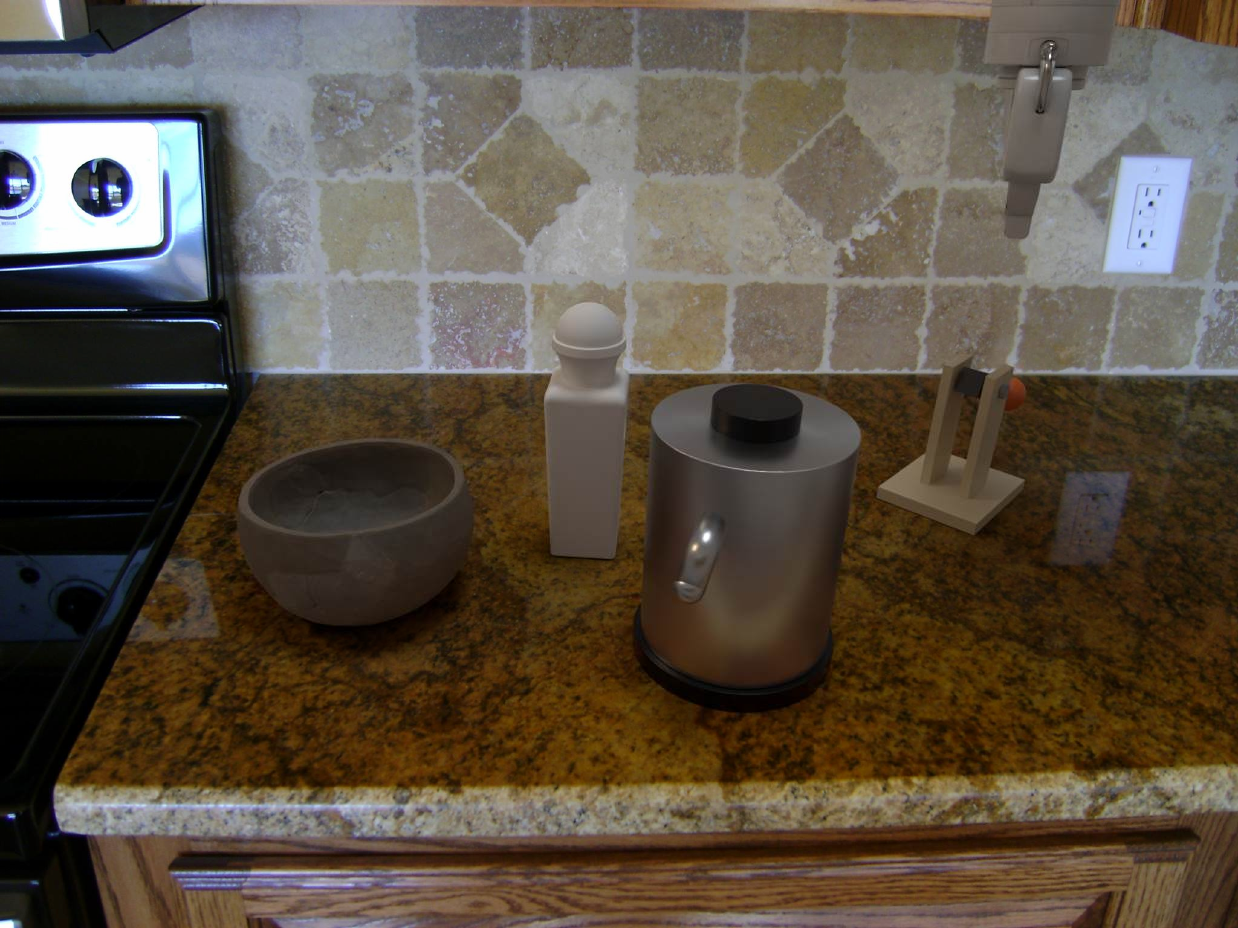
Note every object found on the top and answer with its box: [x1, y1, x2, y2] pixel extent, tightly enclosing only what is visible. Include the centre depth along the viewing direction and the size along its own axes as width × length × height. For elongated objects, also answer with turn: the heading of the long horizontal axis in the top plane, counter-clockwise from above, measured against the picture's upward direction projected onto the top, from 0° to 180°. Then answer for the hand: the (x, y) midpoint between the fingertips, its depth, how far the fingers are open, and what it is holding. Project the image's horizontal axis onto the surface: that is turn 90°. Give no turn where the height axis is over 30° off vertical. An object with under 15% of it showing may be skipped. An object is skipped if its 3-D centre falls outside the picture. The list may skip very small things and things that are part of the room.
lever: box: [955, 367, 1027, 412], centre depth 92 cm, size 14×4×4 cm, turn 139°
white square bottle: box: [543, 301, 631, 560], centre depth 78 cm, size 6×6×22 cm
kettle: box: [632, 382, 862, 713], centre depth 66 cm, size 22×15×20 cm
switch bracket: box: [875, 352, 1026, 536], centre depth 90 cm, size 12×10×14 cm
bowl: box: [236, 437, 475, 627], centre depth 74 cm, size 17×18×10 cm
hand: (1015, 226), depth 76 cm, fingers open, 8 cm apart
